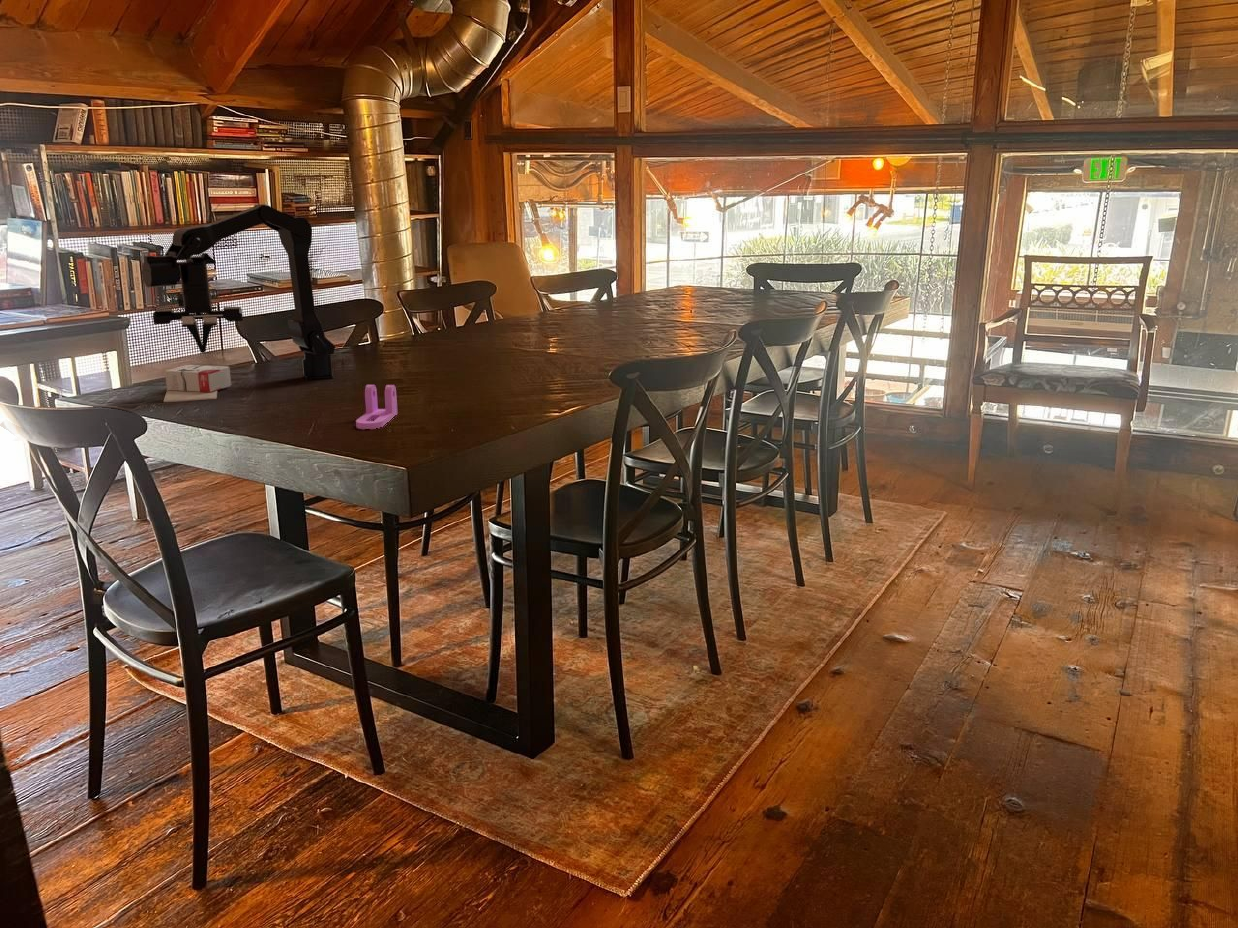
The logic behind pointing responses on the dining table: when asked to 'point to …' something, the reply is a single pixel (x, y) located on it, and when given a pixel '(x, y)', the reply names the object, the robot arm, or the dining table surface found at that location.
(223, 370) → the ink box
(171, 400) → the mat
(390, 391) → the bracket
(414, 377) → the dining table surface
